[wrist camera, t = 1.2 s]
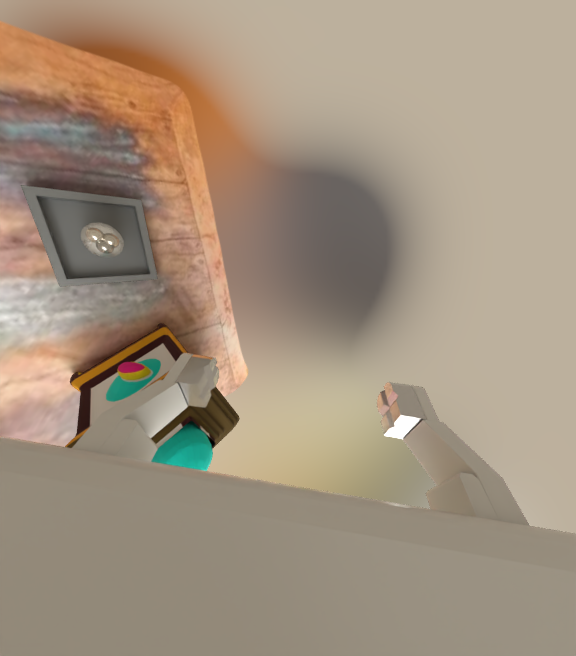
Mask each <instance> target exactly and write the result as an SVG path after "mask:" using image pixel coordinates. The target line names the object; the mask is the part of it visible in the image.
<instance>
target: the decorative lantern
mask: <svg viewBox="0 0 576 656" xmlns="http://www.w3.org/2000/svg"><path fill="white" fill-rule="evenodd" d="M183 353H188V352H187V351H186V350H185V349H184V347H183V346H182V345H181V344H180V342H179V341H178V340H177V338H176V337H175V336H174V335H173V333H172V332H171V331H170V330H169V328H168V327H167V326H166V325H165V324H163V323H160V324H159V325H158V328H157V329H156V330H154V331H153V332H151V333H149V334H148V335H146V336H144V337H143V338H141V339H139V340H138V341H136V342H134V343H132V344H131V345H129V346H127V347H126V348H124V349H122V350H121V351H119V352H117V353H116V354H114V355H112V356H110V357H109V358H107V359H105V360H104V361H102V362H100V363H99V364H97V365H95V366H94V367H92V368H90V369H88V370H87V371H85V372H83V373H80V372H77V373H74V374H73V375H72V377H71V379H70V383H71V385H72V386H73V387H74V388H75V389H77V390H78V391H80V392H81V395H80V406H79V416H78V426H77V434H76V436H75V438H74V439H72V440H71V441H70V442H69V443H68V444H67V445H66V446H65V447H67V448H72V447H73V446H74V445H75V444H76V443H77V441H78V440H79V439H80V438H81V437H82V436H83V434H84V433H85V432H86V431H87V430H88V429H89V428H90V426H91V425H92V424H93V423H94V422H95V421H96V419H97V418H98V417H99V416H100V415H101V414H102V413H103V412H105V411H107V410H109V409H110V408H112V407H114V406H115V405H117V404H119V403H121V402H122V401H124V400H126V399H128V398H129V397H131V396H133V395H134V394H136V393H138V392H140V391H141V390H143V389H145V388H146V387H148V386H150V385H152V384H153V383H155V382H157V381H159V380H163V379H164V378H165V376H166V375H167V374H168V372H169V371H170V369H171V368H172V367H173V365H174V364H175V362H176V361H177V360H178V358H179V357H180V355H182V354H183ZM210 392H211V397H210V399H209V402H208V404H207V406H206V408H204V407H196V406H188V407H187V408H186V409H185V410H183V411H182V412H181V413H180V414H179V415H178V416H176V417H175V418H174V419H173V420H172V421H171V422H169V423H168V424H167V425H166V426H165V427H163V428H162V429H161V430H160V431H159V432H158V433H156V434H155V435H154V436H153V437H152V438H151V439H152V440H153V442H154V443H155V444H156V445H157V448H158V449H157V451H156V453H155V455H154V457H153V459H152V460H151V462H156V463H162V464H168V465H173V466H179V467H185V468H191V469H197V470H203V471H207V469H208V467H209V465H210V463H211V460H212V455H213V452H212V448H214V447H215V446H216V445H217V444H218V443H219V442H220V441H221V440H222V439H223V438H224V437H225V436H226V435H227V434H228V433H229V432H230V431H231V430H232V429H233V428H234V427H235V426H236V424H237V422H238V421H239V416H238V415H237V413H236V412H235V411H234V409H233V408H232V407H231V406H230V404H229V403H228V402H227V400H226V399H225V398H224V397H223V395H222V394H221V393H220V391H219V390H218V389H217V388H216V386H215V388H213V389H212V390H211V391H210Z"/></svg>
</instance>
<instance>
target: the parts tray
mask: <svg viewBox="0 0 576 656" xmlns="http://www.w3.org/2000/svg"><path fill="white" fill-rule="evenodd" d="M21 187H22V190H23V192H24V195H25V197H26V200H27V203H28V205H29V208H30V210H31V213H32V216H33V218H34V221H35V224H36V226H37V229H38V231H39V234H40V237H41V239H42V242H43V244H44V247H45V250H46V252H47V255H48V257H49V260H50V263H51V265H52V268H53V270H54V273H55V276H56V278H57V281H58V283H59V286H60V287H62V286H75V285H88V284H102V283H115V282H128V281H141V280H154V279H158V277H157V273H156V268H155V263H154V259H153V254H152V249H151V245H150V240H149V235H148V231H147V226H146V221H145V216H144V212H143V207H142V202H141V200H138V199H130V198H122V197H114V196H106V195H97V194H89V193H81V192H73V191H65V190H57V189H49V188H41V187H33V186H24V185H21ZM90 223H104V224H107V225H109V226H111V227H113V228H114V229H116V230H117V231H118V232H119V234H120V235H121V236H122V238H123V242H124V247H123V250H122V251H121V253H120V254H118V255H117V256H114V257H101V256H98V255H96V254H94V253H92V252H90V251H89V250H88V249H87V248H86V247H85V246H84V244H83V242H82V240H81V231H82V229H83V228H84V227H85V226H86V225H88V224H90Z"/></svg>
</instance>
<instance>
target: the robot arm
mask: <svg viewBox="0 0 576 656" xmlns="http://www.w3.org/2000/svg"><path fill="white" fill-rule="evenodd" d="M216 363H217V361H216V358H213V357H207V356H201V355H195V354H189V353H183V354H182V355H180V357H179V358H178V360H177V361H176V362H175V364H174V365H173V367H172V368H171V369H170V371H169V372H168V374H167V375H166V376H165V378H164V379H163V380H159V381H157V382H155V383H153V384H152V385H150V386H148V387H146V388H145V389H143V390H141V391H140V392H138V393H136V394H134V395H133V396H131V397H129V398H128V399H126V400H124V401H122V402H121V403H119V404H117V405H115V406H114V407H112V408H110V409H109V410H107V411H105V412H103V413H102V414H101V415H100V416H99V417H98V418H97V419H96V421H95V422H94V423H93V424H92V425H91V426H90V428H89V429H88V430H87V431H86V432H85V433H84V434H83V436H82V437H81V438H80V439H79V440H78V441H77V443H76V444H75V445H74V446H73V447H72V448H67V447H61V446H55V445H50V444H44V443H38V442H32V441H26V440H20V439H14V438H8V437H2V436H0V656H576V534H575V533H569V532H563V531H557V530H551V529H545V528H540V527H534V526H530V525H529V524H528V522H527V520H526V518H525V517H524V515H523V513H522V512H521V509H520V508H519V506H518V504H517V503H516V501H515V499H514V497H513V496H512V494H511V492H510V490H509V488H508V487H507V485H506V483H505V481H504V480H503V478H502V477H501V476H500V475H499V474H498V473H497V472H496V471H495V470H493V469H492V468H491V467H490V466H489V465H488V464H487V463H486V462H485V461H484V460H482V458H481V457H480V456H478V455H477V454H476V453H475V452H474V451H473V450H472V449H471V448H470V447H469V446H468V445H467V444H466V443H465V442H464V441H463V440H461V439H460V438H459V437H458V436H457V435H456V434H455V433H454V432H453V431H452V430H451V429H450V428H448V426H447V425H445V424H444V423H442V422H440V421H439V419H438V417H437V415H436V413H435V410H434V408H433V406H432V404H431V402H430V400H429V397H428V395H427V393H426V391H425V389H424V388H423V387H419V386H412V385H406V384H398V383H391V382H388V383H386V384H385V386H384V389H385V390H384V391H382V392H380V394H379V396H378V400H377V407H378V411H379V413H380V414H381V415H382V416H383V418H382V420H381V424H382V428H383V433H384V435H385V436H390V437H396V438H401V439H403V441H404V442H405V443H406V445H407V446H408V447H409V449H410V450H411V452H412V453H413V454H414V456H415V457H416V458H417V459H418V461H419V462H420V464H421V465H422V467H423V468H424V469H425V471H426V472H427V473H428V475H429V476H430V477H431V479H432V480H433V482H434V483H435V484H436V486H435V487H433V488H431V489H430V490H428V491H427V492H426V496H427V499H428V502H429V506H430V509H427V508H421V507H415V506H409V505H404V504H398V503H392V502H386V501H380V500H373V499H368V498H362V497H357V496H351V495H345V494H339V493H333V492H327V491H321V490H315V489H309V488H303V487H297V486H292V485H286V484H280V483H274V482H268V481H261V480H256V479H250V478H244V477H238V476H232V475H226V474H221V473H215V472H209V471H203V470H197V469H191V468H185V467H179V466H173V465H168V464H162V463H156V462H151V460H152V459H153V457H154V455H155V453H156V451H157V449H158V448H157V445H156V444H155V443H154V442H153V440H152V439H151V438H152V437H153V436H154V435H155V434H156V433H158V432H159V431H160V430H161V429H162V428H163V427H165V426H166V425H167V424H168V423H169V422H171V421H172V420H173V419H174V418H175V417H176V416H178V415H179V414H180V413H181V412H182V411H183V410H185V409H186V408H187V407H188V406H196V407H204V408H206V406H207V404H208V402H209V399H210V397H211V392H210V391H211V390H212V389H213V388H215V386H216V384H217V382H218V377H219V370H218V368H217V367H216V366H215V365H216Z"/></svg>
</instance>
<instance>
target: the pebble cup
mask: <svg viewBox="0 0 576 656" xmlns="http://www.w3.org/2000/svg"><path fill="white" fill-rule="evenodd" d="M81 240H82V242H83V244H84V246H85V247H86V248H87V249H88V250H89V251H90V252H92V253H94V254H96V255H98V256H101V257H114V256H117V255H118V254H120V253H121V251H122V250H123V247H124V242H123V238H122V236H121V235H120V234H119V232H118V231H117V230H116V229H114V228H113V227H111V226H109V225H107V224H104V223H90V224H88V225H86V226H85V227H84V228H83V229H82V231H81Z"/></svg>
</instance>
